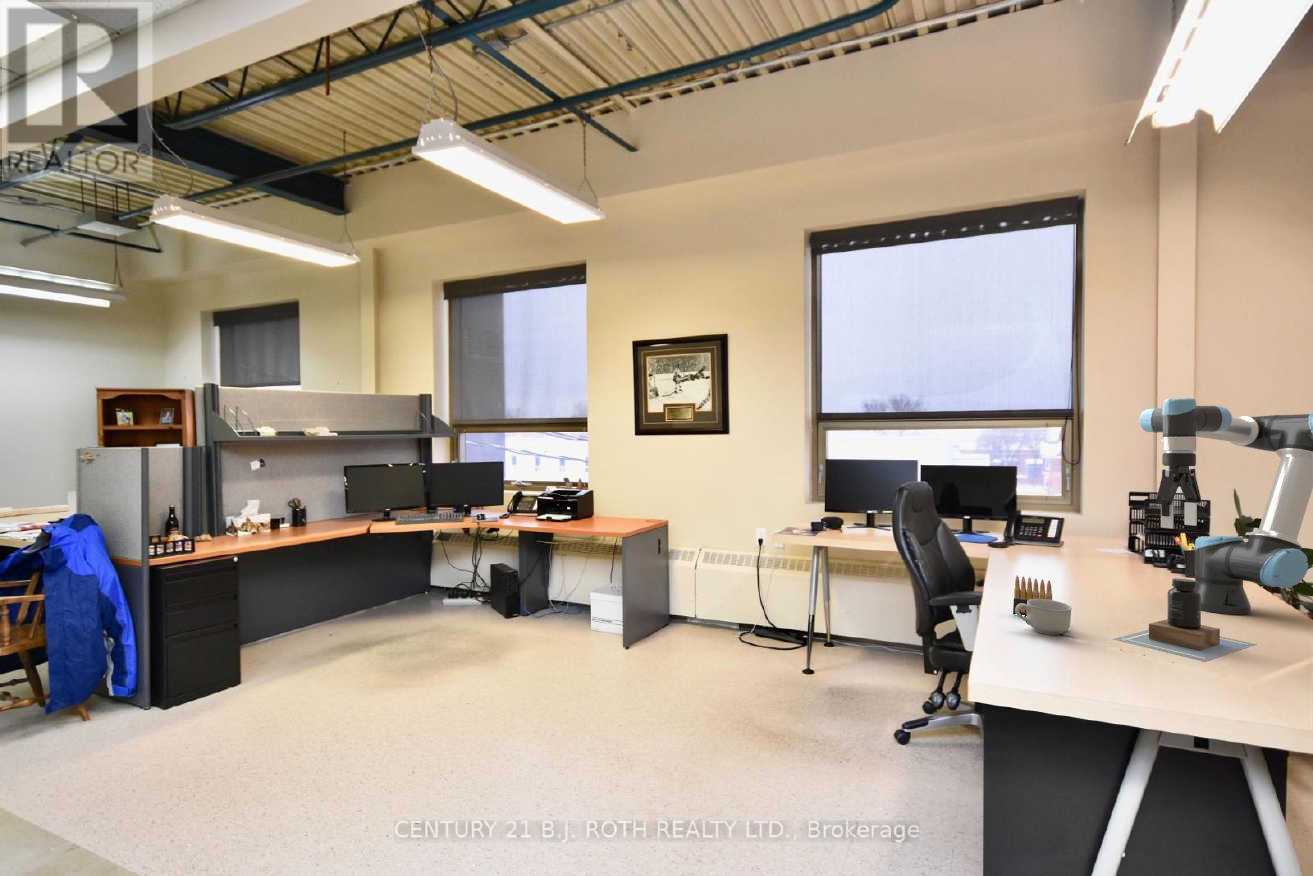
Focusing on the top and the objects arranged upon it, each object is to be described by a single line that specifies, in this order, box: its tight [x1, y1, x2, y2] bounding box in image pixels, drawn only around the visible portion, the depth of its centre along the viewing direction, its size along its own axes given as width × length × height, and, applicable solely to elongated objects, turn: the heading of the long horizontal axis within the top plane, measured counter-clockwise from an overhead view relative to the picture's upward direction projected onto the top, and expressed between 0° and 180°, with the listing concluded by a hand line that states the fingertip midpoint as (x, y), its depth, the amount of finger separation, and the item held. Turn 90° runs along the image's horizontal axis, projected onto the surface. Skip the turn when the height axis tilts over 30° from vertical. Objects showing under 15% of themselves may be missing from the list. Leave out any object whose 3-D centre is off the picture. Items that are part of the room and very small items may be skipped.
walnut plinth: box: [1148, 618, 1221, 651], centre depth 170 cm, size 11×11×4 cm
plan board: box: [1112, 629, 1257, 663], centre depth 170 cm, size 28×20×1 cm
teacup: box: [1015, 599, 1073, 636], centre depth 183 cm, size 14×11×8 cm
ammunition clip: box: [1012, 575, 1053, 616], centre depth 197 cm, size 11×2×12 cm, turn 41°
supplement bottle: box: [1166, 577, 1202, 629], centre depth 171 cm, size 7×7×12 cm
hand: (1179, 526), depth 188 cm, fingers open, 13 cm apart
